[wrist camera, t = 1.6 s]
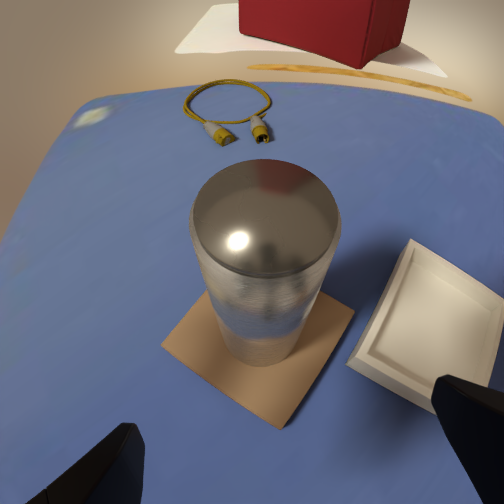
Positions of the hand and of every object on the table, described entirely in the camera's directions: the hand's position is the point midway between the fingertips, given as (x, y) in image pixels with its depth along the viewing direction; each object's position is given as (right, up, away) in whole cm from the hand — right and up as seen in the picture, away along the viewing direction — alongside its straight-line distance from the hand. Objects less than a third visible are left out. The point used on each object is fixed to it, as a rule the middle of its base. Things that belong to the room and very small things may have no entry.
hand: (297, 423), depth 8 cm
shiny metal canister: (-1, -1, +14) cm, 14 cm away
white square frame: (+13, -2, +14) cm, 19 cm away
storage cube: (+15, +52, +48) cm, 72 cm away
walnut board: (-1, -1, +15) cm, 15 cm away
